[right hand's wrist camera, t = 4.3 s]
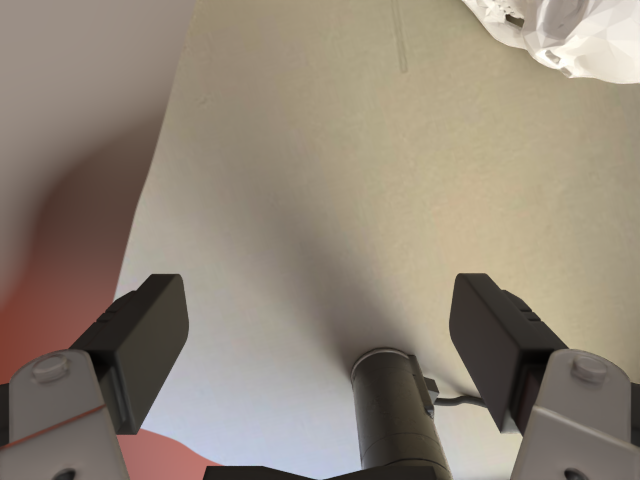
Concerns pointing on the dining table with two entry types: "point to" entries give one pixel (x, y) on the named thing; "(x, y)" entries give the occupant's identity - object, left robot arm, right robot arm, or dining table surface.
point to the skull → (570, 34)
